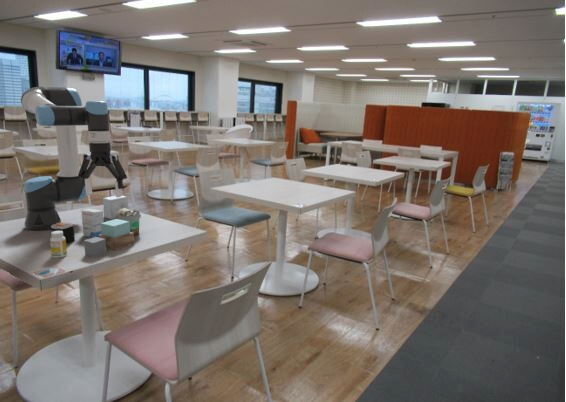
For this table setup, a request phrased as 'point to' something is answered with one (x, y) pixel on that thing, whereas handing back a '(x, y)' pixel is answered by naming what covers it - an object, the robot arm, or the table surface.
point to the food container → (132, 221)
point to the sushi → (65, 231)
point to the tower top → (115, 228)
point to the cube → (95, 246)
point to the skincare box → (114, 205)
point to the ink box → (92, 222)
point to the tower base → (118, 241)
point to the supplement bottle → (58, 244)
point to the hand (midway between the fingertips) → (104, 195)
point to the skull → (122, 212)
